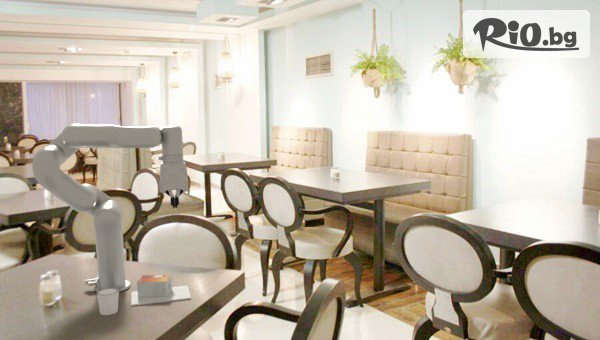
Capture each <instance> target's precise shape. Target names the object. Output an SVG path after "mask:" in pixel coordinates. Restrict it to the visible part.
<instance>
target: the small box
mask: <svg viewBox="0 0 600 340" xmlns="http://www.w3.org/2000/svg"><path fill="white" fill-rule="evenodd" d="M172 277H173V276H172V274H144V275H142V276H141V277H140V278H139V279H138V281H137V282H136V286H137V287H136V288H137V290H136V291H138V297H167V296H168V294H169V293H170V291H171V290H172V287H173V280H172V279H173V278H172Z"/></svg>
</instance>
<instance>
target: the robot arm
mask: <svg viewBox="0 0 600 340" xmlns="http://www.w3.org/2000/svg"><path fill="white" fill-rule="evenodd" d="M159 145H161V153H162V154H161V156H158V161H161V163H160V167H159V186H160V188H159V193H162V194H166V195H167V196H168V197H170V206H172V209H175V208H176V209H177V208H178V206H179V205H180V199H179V197H180V196H181V195H182V194H183V193H186V192H189V191H190V189H189V176H188V168H187V164H186V162H185V161H184V148H183V147H184V146H183V145H184V144H183V129H182V127H181V126H178V125H165V126H159V125H157V126H156V125H147V126H121V125H115V124H109V123H107V124H104V123H103V124H101V123H100V124H99V123H98V124H96V123H95V124H94V123H93V124H92V123H91V124H90V123H88V124H86V123H85V124H84V123H81V124H80V123H71V124H68V125H67V126H65V127H64V128H63V130H62V132H61V133H60V134H59V135H58V136H56V137H55V138H54V139H53V140H52V141H51V142H49V143H48V144H47V145H46V146H43V147H42V148H39V149H38V150H37V152H35V155H34V157H33V158H32V166H31V167H32V168H31V170H32V173H33V177H34V179H35V180H36V182H37V183H38V184H39V185H40V186H41V187H42V188H44V190H46V191H48V192H49V193H51V194H52V195H53V196H54V197H56V198H58V200H60V201H61V202H63V203H64V204H66V205H67V206H69V207H70V208H71V209H73V210H74V211H75V212H78V213H82V214H86V213H88V214H89V215H90V216H92V217H93V230H94V237H95V251H96V264H97V277H94V278H89V279H85V280H84V281H85V282H84V283H85V286H88V287H92V286H94V287H93V289H94V292H95V293H97V292H98V291H100V290H103V289H107V288H115V289H118V290H119V293H121V292H123V291H126V290H128V289H129V288H130V287H131V282H130V281H129V280H126V268H125V267H126V265H125V252H124V251H125V250H124V249H125V247H124V235H123V234H124V233H123V207H122V206H121V205H120V203H118V202H117V201H116V200H115V199H113V198H112V197H111V196H109V195H107V194H106V193H105V192H103V191H102V190H100V188H98V187H96V186H95V185H93V184H90V183H81V182H80V181H77V180H76V179H74V178H73V177H72V176H71V175H70V174H67V173H66V172H64V171H63V170H62V169H61V167H60V166H62V165H63V164H65V162H66V161H68V160H69V158H71V157H72V156H73V155H74V154H76V153H77V151H79V150H80V149H151V148H155V147H158V146H159ZM173 191H175V195H174V193H173Z"/></svg>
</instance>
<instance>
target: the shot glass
mask: <svg viewBox="0 0 600 340" xmlns="http://www.w3.org/2000/svg"><path fill="white" fill-rule="evenodd" d="M119 293H120V292H119V290H118V289H115V288H107V289H103V290H100V291H98V292H96V297H97V302H98V304H97V305H98V308H99V309H98V310H99V314H100V315H102V316H109V315H111V316H112V315H114V314H116V313H118V311H119Z"/></svg>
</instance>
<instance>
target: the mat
mask: <svg viewBox="0 0 600 340" xmlns="http://www.w3.org/2000/svg"><path fill="white" fill-rule="evenodd" d="M130 299H131V300H130V306H131V307H136V305H137V306H145V305H152V304H159V303H160V304H163V303H169V302H177V301H186V300H188V301H189V300H192V297H191V292H190V289H189V285H179V286H172V290H171V291H170V293H169V294H168V296H167V297H138V290H134V291H131V298H130Z"/></svg>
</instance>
